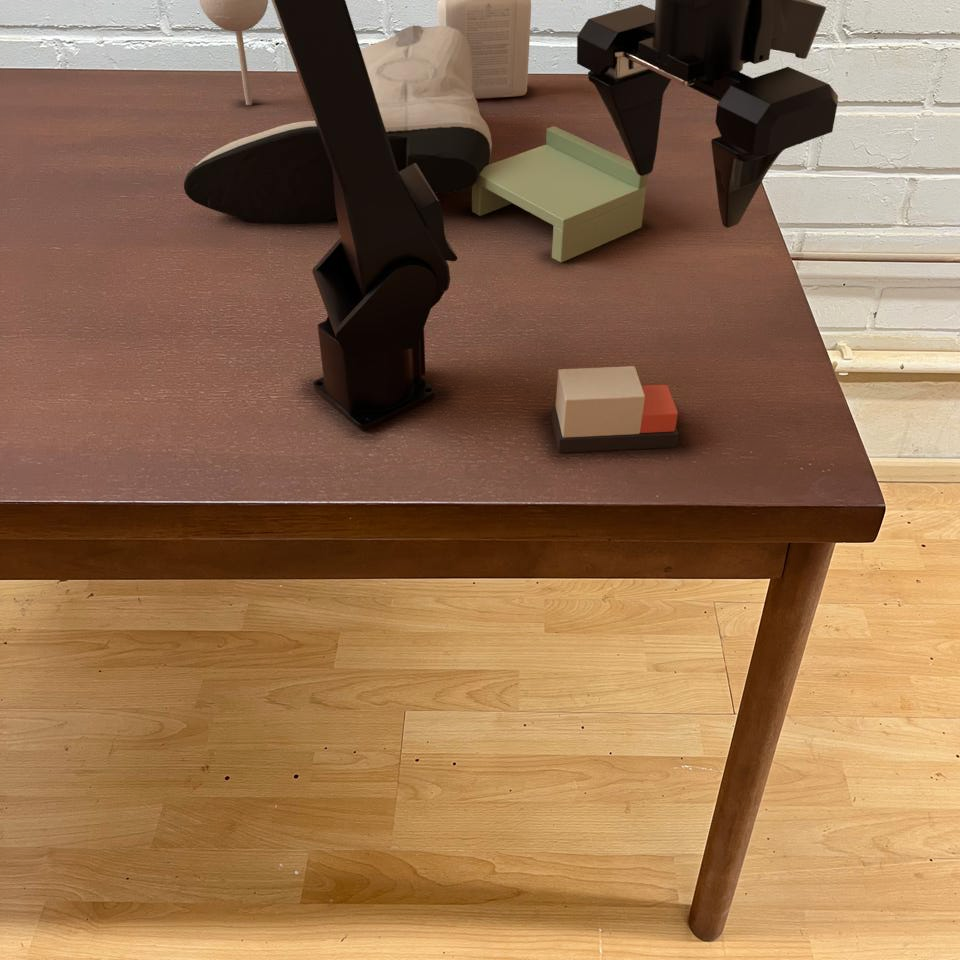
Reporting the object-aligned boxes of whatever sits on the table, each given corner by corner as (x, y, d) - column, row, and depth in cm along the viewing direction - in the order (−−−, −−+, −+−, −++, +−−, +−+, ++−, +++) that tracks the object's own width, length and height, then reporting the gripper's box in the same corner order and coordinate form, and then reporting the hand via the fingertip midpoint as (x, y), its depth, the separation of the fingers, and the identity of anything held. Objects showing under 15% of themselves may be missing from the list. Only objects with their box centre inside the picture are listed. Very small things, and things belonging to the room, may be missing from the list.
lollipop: (258, 86, 115) (238, -58, 105) (294, 105, 111) (277, -44, 101) (204, 102, 111) (178, -46, 101) (239, 122, 107) (215, -30, 97)
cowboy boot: (497, 133, 85) (484, 9, 102) (167, 132, 84) (209, 6, 100) (493, 229, 92) (481, 98, 109) (189, 230, 90) (225, 97, 107)
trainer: (558, 453, 67) (562, 400, 64) (551, 419, 70) (554, 368, 67) (676, 447, 68) (685, 395, 65) (664, 414, 70) (673, 362, 67)
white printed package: (522, 84, 116) (527, -32, 108) (531, 98, 113) (536, -21, 105) (434, 90, 114) (432, -28, 106) (441, 104, 111) (439, -15, 103)
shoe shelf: (560, 263, 86) (564, 203, 82) (471, 211, 93) (471, 154, 89) (641, 227, 91) (649, 169, 87) (551, 181, 97) (554, 125, 94)
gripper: (934, -41, 55) (874, 217, 66) (710, -105, 67) (690, 122, 78) (780, 5, 51) (743, 271, 62) (572, -72, 64) (571, 162, 74)
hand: (685, 198), depth 69 cm, fingers open, 9 cm apart
